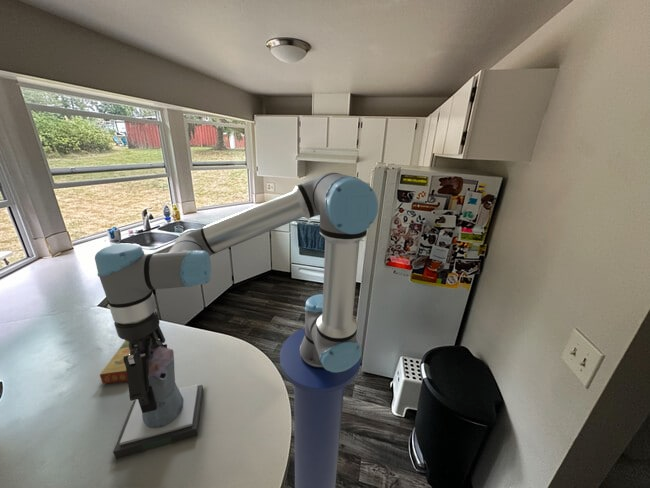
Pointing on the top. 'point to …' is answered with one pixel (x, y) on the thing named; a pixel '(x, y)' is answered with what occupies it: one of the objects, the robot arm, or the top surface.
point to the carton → (116, 366)
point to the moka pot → (163, 388)
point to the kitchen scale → (145, 438)
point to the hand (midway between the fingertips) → (156, 389)
